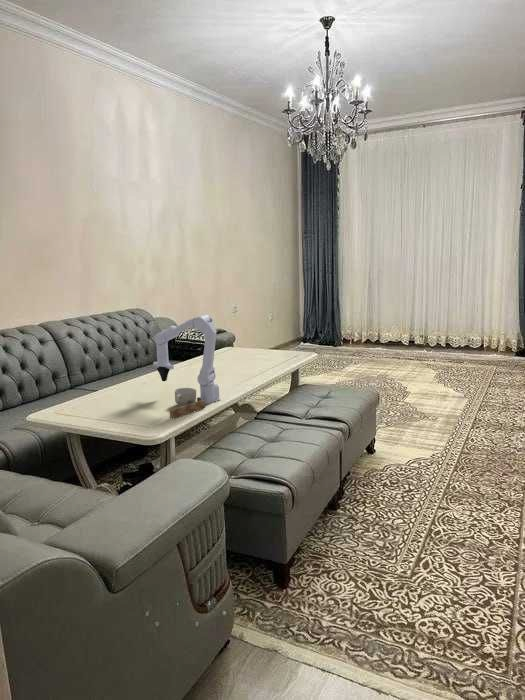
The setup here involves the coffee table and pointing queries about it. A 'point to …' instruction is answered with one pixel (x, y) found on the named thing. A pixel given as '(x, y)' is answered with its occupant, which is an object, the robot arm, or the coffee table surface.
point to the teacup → (185, 396)
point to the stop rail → (187, 408)
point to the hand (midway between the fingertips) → (164, 380)
